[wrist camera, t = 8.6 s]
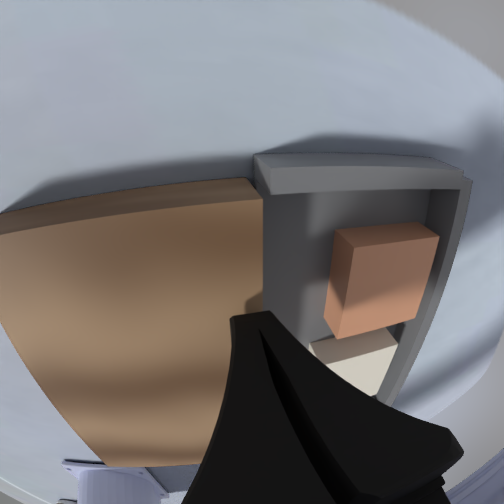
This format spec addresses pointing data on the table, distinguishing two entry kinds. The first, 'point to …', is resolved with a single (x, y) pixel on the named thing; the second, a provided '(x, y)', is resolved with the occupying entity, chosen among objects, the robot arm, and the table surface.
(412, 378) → the table surface
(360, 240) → the tile terracotta
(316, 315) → the box
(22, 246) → the plate
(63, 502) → the supplement bottle
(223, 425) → the robot arm
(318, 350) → the tile cream
